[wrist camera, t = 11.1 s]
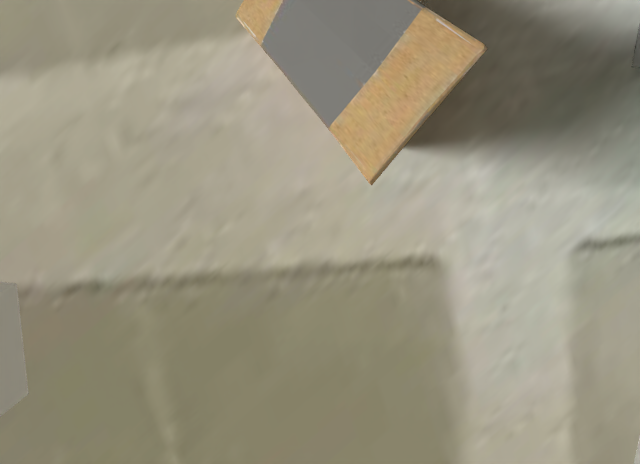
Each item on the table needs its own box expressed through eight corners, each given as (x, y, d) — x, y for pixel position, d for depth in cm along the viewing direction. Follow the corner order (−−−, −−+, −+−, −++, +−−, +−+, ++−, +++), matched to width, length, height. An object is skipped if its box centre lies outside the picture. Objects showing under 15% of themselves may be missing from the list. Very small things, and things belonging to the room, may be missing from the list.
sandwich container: (301, -89, 40) (228, -178, 26) (471, 54, 40) (492, 45, 26) (231, 16, 43) (130, -12, 28) (390, 150, 43) (370, 188, 29)
